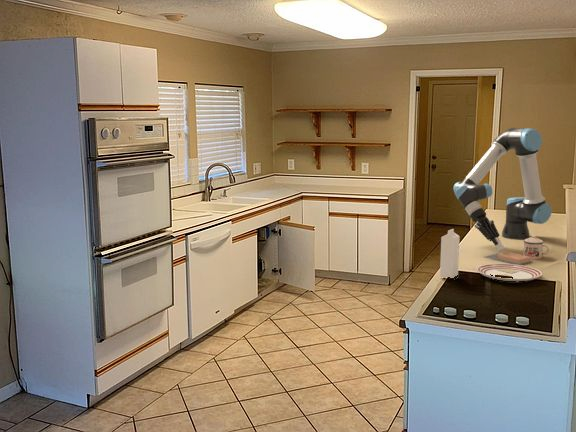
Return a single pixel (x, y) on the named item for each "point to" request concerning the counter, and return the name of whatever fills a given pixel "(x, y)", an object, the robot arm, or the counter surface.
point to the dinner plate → (521, 275)
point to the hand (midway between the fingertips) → (502, 249)
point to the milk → (449, 254)
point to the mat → (500, 260)
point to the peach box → (513, 258)
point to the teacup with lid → (534, 248)
